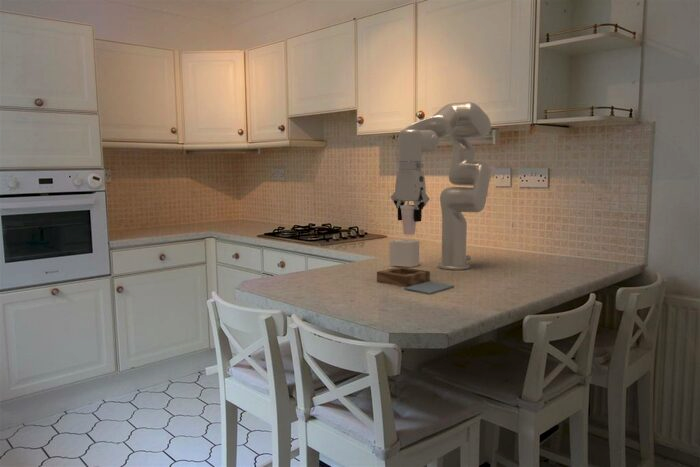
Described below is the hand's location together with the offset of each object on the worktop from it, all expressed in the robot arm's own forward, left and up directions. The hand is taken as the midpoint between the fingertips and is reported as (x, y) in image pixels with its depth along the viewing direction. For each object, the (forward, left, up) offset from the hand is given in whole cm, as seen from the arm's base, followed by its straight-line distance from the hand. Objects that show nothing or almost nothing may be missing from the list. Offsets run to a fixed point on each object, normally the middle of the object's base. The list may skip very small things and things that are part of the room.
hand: (409, 220), depth 182 cm
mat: (+2, +10, -22) cm, 24 cm away
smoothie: (0, 0, -5) cm, 5 cm away
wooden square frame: (-1, -3, -22) cm, 22 cm away
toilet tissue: (-27, -22, -22) cm, 41 cm away
